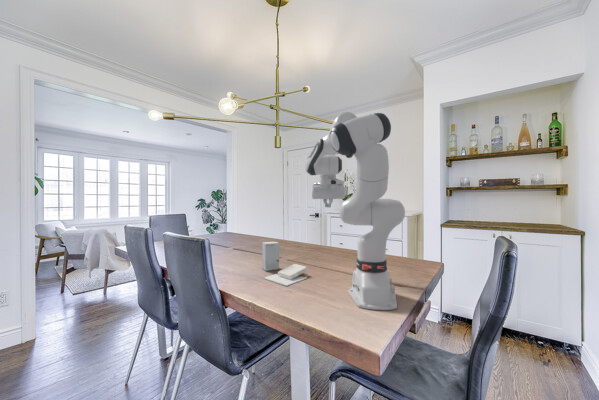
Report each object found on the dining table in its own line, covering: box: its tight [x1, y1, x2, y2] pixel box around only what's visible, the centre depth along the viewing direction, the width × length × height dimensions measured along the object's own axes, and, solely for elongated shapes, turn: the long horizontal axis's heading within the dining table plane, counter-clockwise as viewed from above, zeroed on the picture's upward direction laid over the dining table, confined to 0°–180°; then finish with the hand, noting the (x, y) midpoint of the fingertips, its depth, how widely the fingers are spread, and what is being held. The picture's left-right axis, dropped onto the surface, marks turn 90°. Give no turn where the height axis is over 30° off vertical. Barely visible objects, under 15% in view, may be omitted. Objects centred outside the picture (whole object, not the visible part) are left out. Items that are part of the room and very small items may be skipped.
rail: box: [299, 272, 309, 278], centre depth 128 cm, size 2×14×2 cm, turn 47°
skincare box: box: [261, 241, 280, 272], centre depth 139 cm, size 8×6×15 cm
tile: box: [277, 263, 308, 280], centre depth 126 cm, size 2×9×12 cm
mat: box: [263, 272, 308, 287], centre depth 122 cm, size 14×16×1 cm
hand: (328, 207), depth 136 cm, fingers closed
